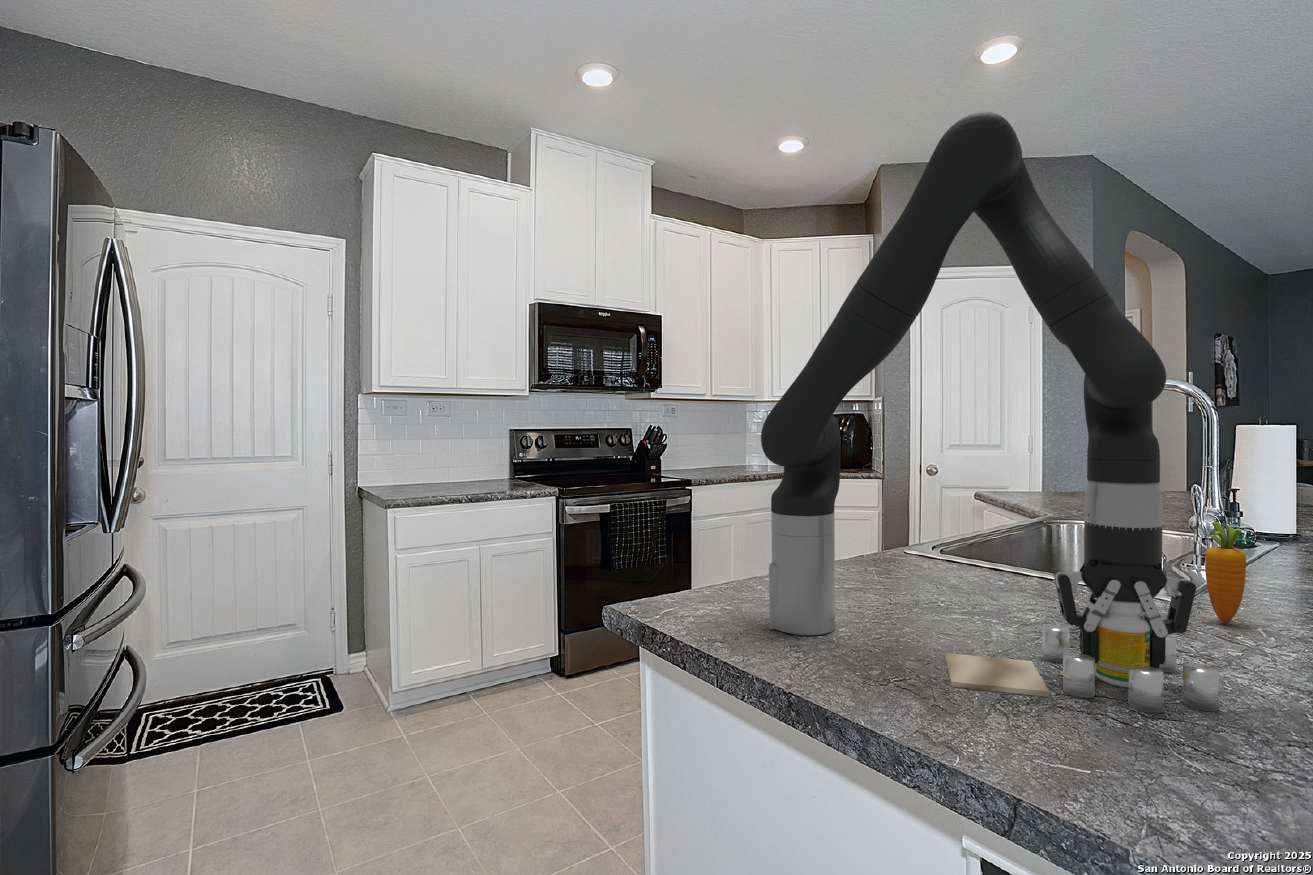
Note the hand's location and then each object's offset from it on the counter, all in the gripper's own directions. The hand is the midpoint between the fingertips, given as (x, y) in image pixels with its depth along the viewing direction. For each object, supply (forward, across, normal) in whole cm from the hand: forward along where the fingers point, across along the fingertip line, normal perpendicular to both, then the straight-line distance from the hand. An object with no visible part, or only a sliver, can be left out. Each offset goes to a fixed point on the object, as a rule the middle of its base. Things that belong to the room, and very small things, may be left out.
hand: (1121, 662), depth 80 cm
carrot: (+2, +21, +29) cm, 36 cm away
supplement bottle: (+2, 0, 0) cm, 2 cm away
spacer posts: (+2, 0, 0) cm, 2 cm away
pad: (+2, -14, -3) cm, 14 cm away
